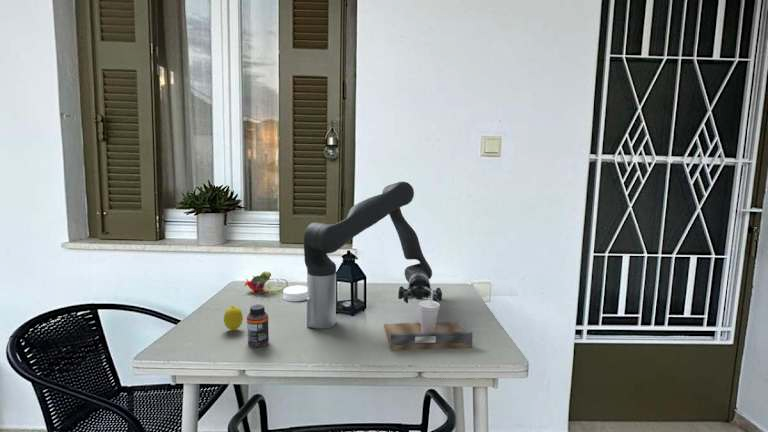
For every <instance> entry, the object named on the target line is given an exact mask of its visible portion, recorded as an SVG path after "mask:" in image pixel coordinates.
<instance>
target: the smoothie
mask: <svg viewBox="0 0 768 432" xmlns="http://www.w3.org/2000/svg"><path fill="white" fill-rule="evenodd" d="M433 290H434V289H432V290H431V300H427V299H422V300H419V302H418V308H419V317H420V323H421V333H434V330H435V325H436V322H437V321H438V320H437V318H438V313H439V310H440V306H441V304H440V303H439V302H438V301H437V302H436V301H432V299H433Z"/></svg>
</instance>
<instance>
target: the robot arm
mask: <svg viewBox="0 0 768 432" xmlns="http://www.w3.org/2000/svg"><path fill="white" fill-rule="evenodd" d="M414 197H415V189H414V187H413V186H412V184H410V183H409V182H406V181H398V182H395V183H392V184H388V185H387V186H384V188H383V190H382V193H379V194H377V195H374V196H371V197H368V198H366V199H364V200H361V201H360V202H358V203H357V204H354V205H353V206H352V207H350V209H349V211H348V213H347V216H346V217H345V218H344V219H343V220H341V221H339V222H336V223H333V224H330V223H323V222H311V223H310V224H309V225H308V226H307V227H306V229H305V230H304V231H305V232H304V235H303V253H304V254H303V255H304V264H305V266H306V271H307V272H306V273H307V274H306V277H307V278H306V280H307V281H306V283H307V284H306V285H307V286H306V287H307V300H306V328H312V329H321V330H323V329H324V330H325V329H328V328H329V329H330V328H332V327H334V326H335V325H336V323H337V322H336V321H337V319H336V318H337V316H336V315H337V313H336V311H337V309H336V308H337V264H336V263H335V262H334V261H333V260H332V259H331V258H330V257H329V256H328V254H332V253H333V254H334V253H335V252H337V251H338V250H340V249H341V248H342V247H343V246H344V245H346V244H347V243H348V242H349V241H350V240H352V239H353V238H354V237H356V236H358V235H360V234H361V233H362V232H364V231H365V230H367V229H369V228H370V227H372V226H374V225H376V224H377V223H378V222H380V221H381V220H382V219H384V218H386V216H388V215H389V217H390V219H391V222H392V224H393V226H394V228H395V231H396V233H397V236H398V238H399V242H400V245H401V249H402V253H403V257H404V259H406V260H409V261H411V260H416V261H418V262H419V263H416V264H411V265H409V266H406V268H405V269H404V277H405V280H406V281H407V283H408V287H407V288H405V287H404V286H402V285H401V286H399V288H398V294H397V295H398V300H402V299H403V302H405V303H406V304H408V303H409V300H414V299H415V300H419V301H423V300H431V290H433V299H432V301H436V302H438V301H440V302H442V301H443V292H442V289H441V288H440V287H436V289H432V288H431V283H430V282H431V281H430V279H431V278H432V277H433V271H432V268H431V266H430V264H429V263H428V262H427V260H426V257H425V255H424V254H423V251H422V247H421V244H420V241H419V236H418V235H417V233H416V231H415V230H414V229H413V227H412V226H411V225H410V224H409V223H408V222H407V220H406V218H405V217H404V215H403V214H402V213H403V212H402V209H401V208H402V207H404V206H407V205H410V203H411V202H412V201H413V199H414Z"/></svg>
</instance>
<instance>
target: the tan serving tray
mask: <svg viewBox="0 0 768 432" xmlns="http://www.w3.org/2000/svg"><path fill="white" fill-rule="evenodd" d="M383 329H384V333H385V336H386V340H387V342H388V346H389V349H390V351H411V350H441V349H442V350H447V349H472V348H473V332H472V331H464V330H463V329H462V327H461V326H460V325H459V323H458V322H457V321H449V322H447V321H446V322H445V321H444V322H443V321H441V322H440V321H439V322H437V321H436V325H435V330H434V333H421V322H404V323H403V322H401V323H399V322H398V323H383Z"/></svg>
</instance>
